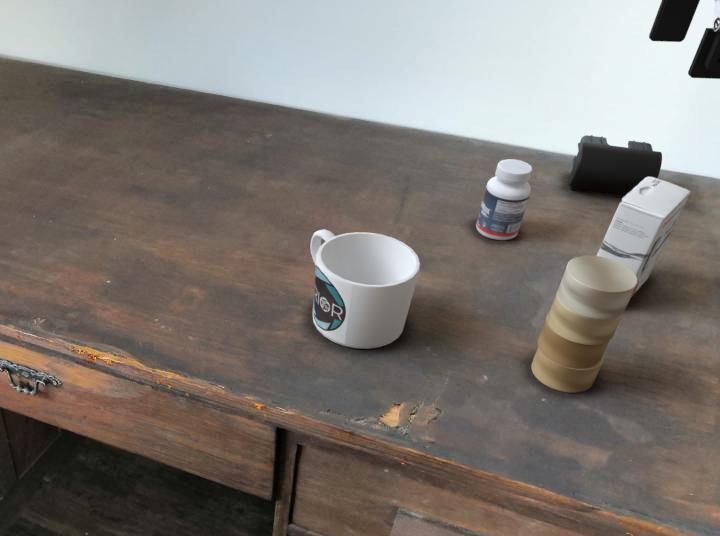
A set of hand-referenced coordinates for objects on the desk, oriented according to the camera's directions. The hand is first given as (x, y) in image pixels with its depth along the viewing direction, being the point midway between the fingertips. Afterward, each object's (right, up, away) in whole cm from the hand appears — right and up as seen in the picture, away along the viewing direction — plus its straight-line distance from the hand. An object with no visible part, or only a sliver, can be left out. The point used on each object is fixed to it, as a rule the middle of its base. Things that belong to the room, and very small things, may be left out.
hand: (684, 57), depth 72 cm
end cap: (+11, -4, +36) cm, 38 cm away
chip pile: (-8, -29, +7) cm, 31 cm away
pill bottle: (-7, -11, +28) cm, 31 cm away
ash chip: (-8, -22, +1) cm, 24 cm away
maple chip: (-8, -25, +3) cm, 26 cm away
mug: (-29, -23, +14) cm, 39 cm away
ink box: (+3, -19, +18) cm, 27 cm away
